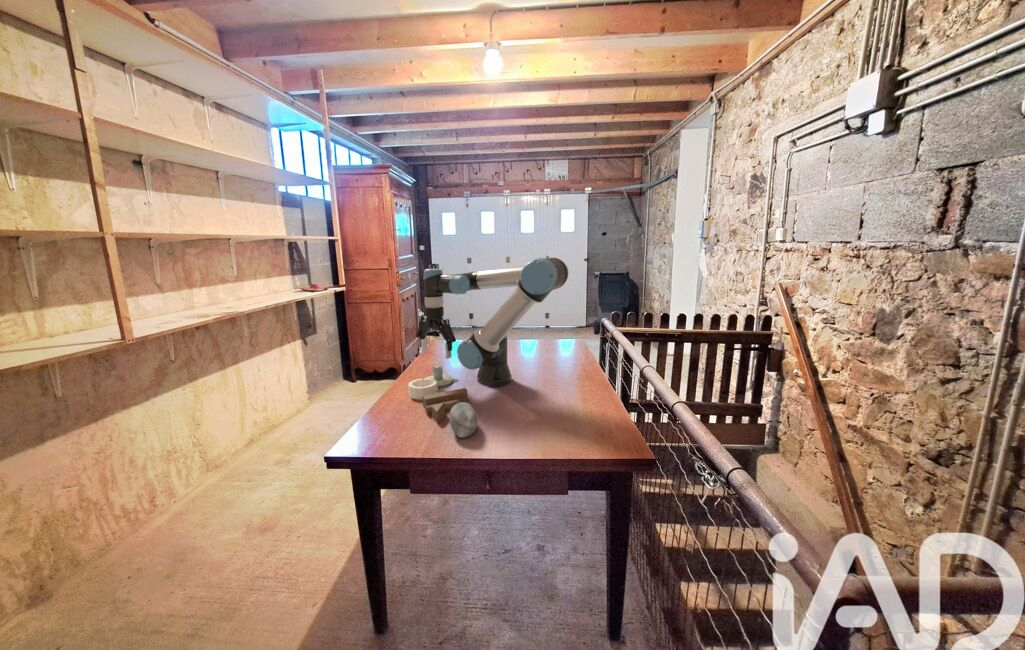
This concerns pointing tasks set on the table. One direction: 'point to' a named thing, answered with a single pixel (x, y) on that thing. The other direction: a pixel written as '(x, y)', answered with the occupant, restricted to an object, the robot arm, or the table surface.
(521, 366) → the table surface
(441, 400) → the brown jagged block
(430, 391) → the bowl
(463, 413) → the grey rock
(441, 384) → the lid
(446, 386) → the trivet
